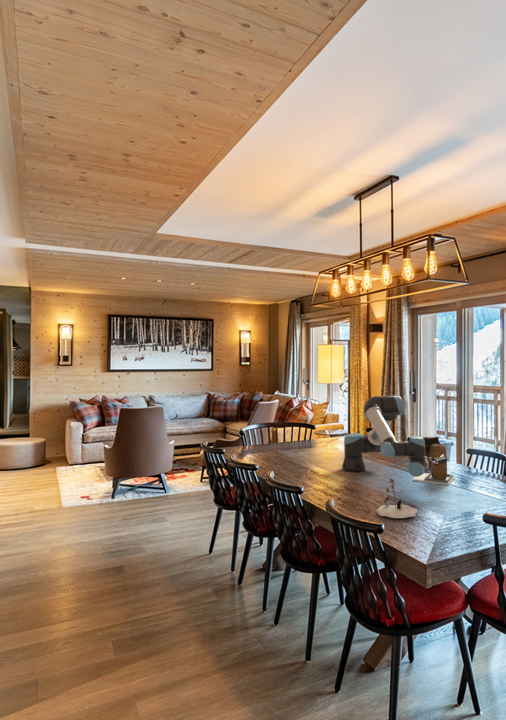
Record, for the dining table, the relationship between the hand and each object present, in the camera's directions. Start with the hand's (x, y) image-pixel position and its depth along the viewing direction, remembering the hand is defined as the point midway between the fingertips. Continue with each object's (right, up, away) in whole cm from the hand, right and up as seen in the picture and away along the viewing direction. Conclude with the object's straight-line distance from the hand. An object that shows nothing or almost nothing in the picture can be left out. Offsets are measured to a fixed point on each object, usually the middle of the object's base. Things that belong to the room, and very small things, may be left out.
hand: (430, 455), depth 253 cm
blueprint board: (+6, -16, +10) cm, 20 cm away
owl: (+18, -16, +44) cm, 50 cm away
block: (+8, -16, +9) cm, 20 cm away
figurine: (-34, -18, -46) cm, 60 cm away
